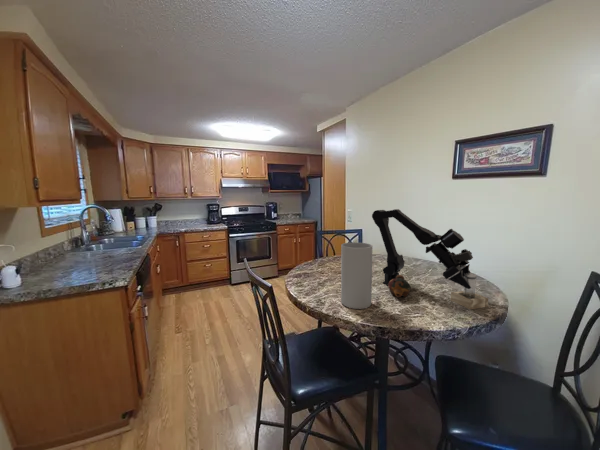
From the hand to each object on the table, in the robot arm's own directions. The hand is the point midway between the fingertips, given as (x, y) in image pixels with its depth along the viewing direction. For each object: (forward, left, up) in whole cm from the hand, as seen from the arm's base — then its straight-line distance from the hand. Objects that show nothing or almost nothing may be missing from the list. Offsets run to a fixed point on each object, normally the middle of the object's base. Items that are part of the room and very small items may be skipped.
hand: (472, 285), depth 99 cm
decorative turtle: (-22, +16, -8) cm, 29 cm away
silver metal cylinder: (-1, +1, -8) cm, 8 cm away
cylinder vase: (-45, +13, -8) cm, 48 cm away
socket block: (0, +1, -8) cm, 8 cm away
